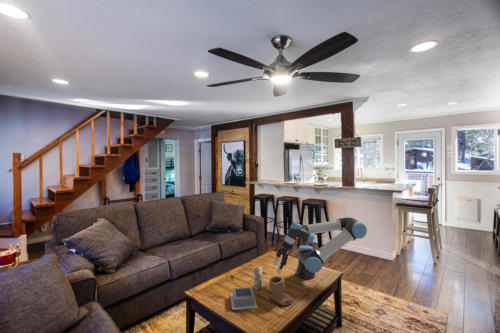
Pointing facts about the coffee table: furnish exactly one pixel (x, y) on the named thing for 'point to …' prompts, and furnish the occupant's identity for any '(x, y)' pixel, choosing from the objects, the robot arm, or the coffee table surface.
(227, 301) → the coffee table surface
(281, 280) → the tan boot
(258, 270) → the peg
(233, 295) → the well
